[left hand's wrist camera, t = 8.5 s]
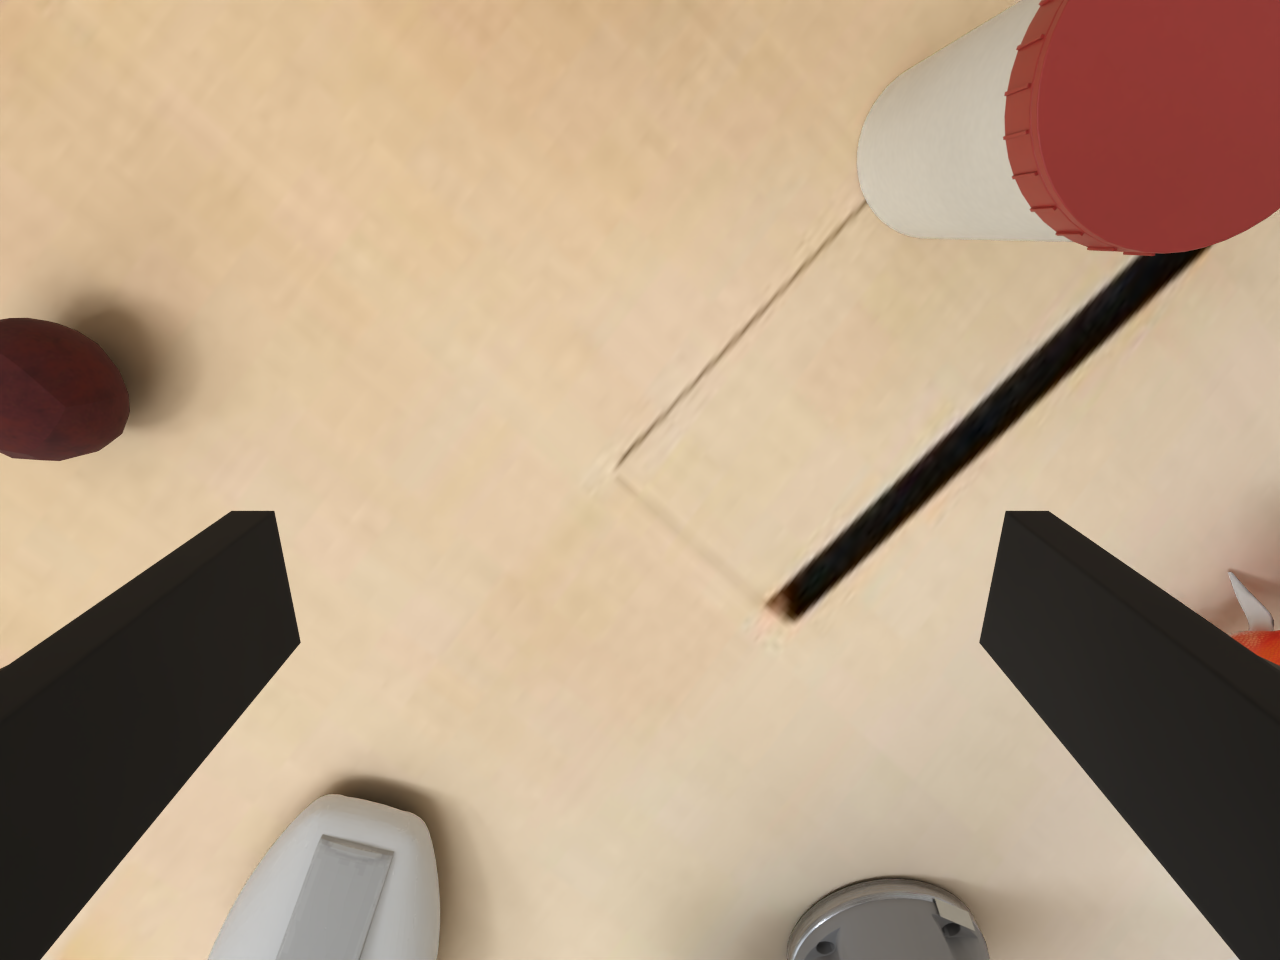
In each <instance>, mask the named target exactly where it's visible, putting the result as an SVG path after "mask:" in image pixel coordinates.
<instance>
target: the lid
mask: <svg viewBox="0 0 1280 960" xmlns="http://www.w3.org/2000/svg"><path fill="white" fill-rule="evenodd" d="M1039 5H1040V7H1039V9H1038V11H1037V13H1036V14H1035V16H1034V18H1033V20H1032V21H1031V23H1030V25H1029V27H1028V29H1027V31H1026V33H1025V36H1024V38H1023V40H1022V42H1021V44H1020V45H1018V46H1017V48H1016V50H1018V52H1017V55H1016V58H1015V62H1014V65H1013V68H1012V71H1011V75H1010V80H1009V85H1008V89H1007V91H1006V92H1005V94H1004V96H1006V105H1005V116H1004V118H1005V136H1003V140H1005V141H1006V147H1007V153H1008V159H1009V162H1010V166H1011V169H1012V172H1013V176H1012V179H1015V180H1016V182H1017V185H1018V187H1019V189H1020V191H1021V193H1022V195H1023V196H1024V198H1025V199H1026V201H1027V202H1028V204H1029V205H1030V207H1031V209H1029V210H1030V211H1031V212H1035V213H1036V214H1037V215H1038V216H1039V217H1040V218H1041V220H1042V221H1043V222H1044V223H1046V224H1047V225H1048V226H1049V227H1051V228H1052V229H1053V230H1054V231H1056V234H1055V235H1057V236H1064V237H1066V238H1068V239H1069V240H1071V241H1073V242H1076V243H1079V244H1081V245H1084V246H1087V247H1088V248H1087V250H1096V251H1119V252H1123V255H1145V256H1155V253H1174V252H1185V251H1190V250H1194V249H1199V248H1204V247H1207V246H1210V245H1213V244H1216V243H1219V242H1222V241H1225V240H1227V239H1229V238H1231V237H1233V236H1236V235H1238V234H1240V233H1242V232H1244V231H1246V230H1248V229H1250V228H1251V227H1253V226H1255V225H1256V224H1258V223H1259V222H1261V221H1263V220H1264V219H1266V218H1268V217H1269V216H1270V215H1272V214H1273V213H1274V212H1276V211H1277V210H1278V209H1280V0H1041V1H1040V3H1039Z"/></svg>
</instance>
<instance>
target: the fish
mask: <svg viewBox="0 0 1280 960" xmlns="http://www.w3.org/2000/svg"><path fill="white" fill-rule="evenodd" d="M1228 575H1229V577H1230V580H1231V583H1232V586H1233V589H1234V592H1235V594H1236V597H1237V599H1238V601H1239V603H1240V605H1241V607H1242V609H1243V611H1244V613H1245V615H1246V617H1247V619H1248V623H1249V631H1243V632H1237V633H1232V634H1229V636H1230V637H1232V638H1233V639H1235V640H1236V641H1237V642H1239V643H1240V644H1242V645H1243V646H1245V647H1246V648H1248V649H1249V650H1251V651H1252V652H1253V653H1255V654H1256V655H1258V656H1260V657H1262V658H1264V659H1266V660H1269V661H1271V662H1273V663H1275V664H1277V665H1279V666H1280V630H1278V631H1273V628H1274V620H1273V618H1272V616H1271V614H1270V613H1269V611H1268V610H1267V609H1266V608H1265V607H1264V606H1263V605H1262V604H1261V603H1260V602H1259V601H1258V600H1257V599H1256V598H1255V597H1254V596H1253V595H1252V594H1251V593H1250V592H1249V591H1248V590H1247V589H1246V587H1245V586H1244V585H1243V584H1242V583H1241V582H1240V581H1239V580H1238V579H1237V577H1236V576H1235V575H1234V574H1233V573H1232V572H1228Z"/></svg>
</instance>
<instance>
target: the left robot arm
mask: <svg viewBox="0 0 1280 960" xmlns="http://www.w3.org/2000/svg"><path fill="white" fill-rule="evenodd" d="M300 643H301V642H300V637H299V632H298V627H297V622H296V617H295V612H294V607H293V602H292V597H291V592H290V587H289V582H288V577H287V572H286V567H285V562H284V557H283V552H282V547H281V542H280V537H279V532H278V527H277V522H276V517H275V512H274V511H231V512H229V513H228V514H226V515H225V516H224V517H222V518H221V519H219V520H218V521H216V522H215V523H213V524H212V525H211V526H209V527H208V528H206V529H205V530H203V531H202V532H200V533H199V534H198V535H196V536H195V537H193V538H192V539H190V540H189V541H187V542H186V543H184V544H183V545H182V546H180V547H179V548H177V549H176V550H174V551H173V552H171V553H170V554H169V555H167V556H166V557H164V558H163V559H161V560H160V561H158V562H157V563H156V564H154V565H153V566H151V567H150V568H148V569H147V570H145V571H144V572H142V573H141V574H140V575H138V576H137V577H135V578H134V579H132V580H131V581H129V582H128V583H127V584H125V585H124V586H122V587H121V588H119V589H118V590H116V591H115V592H113V593H112V594H111V595H109V596H108V597H106V598H105V599H103V600H102V601H100V602H99V603H98V604H96V605H95V606H93V607H92V608H90V609H89V610H87V611H86V612H85V613H83V614H82V615H80V616H79V617H77V618H76V619H74V620H73V621H71V622H70V623H69V624H67V625H66V626H64V627H63V628H61V629H60V630H58V631H57V632H56V633H54V634H53V635H51V636H50V637H48V638H47V639H45V640H44V641H43V642H41V643H40V644H38V645H37V646H35V647H34V648H32V649H31V650H29V651H28V652H27V653H25V654H24V655H22V656H21V657H19V658H18V659H16V660H15V661H14V662H12V663H11V664H9V665H7V666H5V667H3V668H1V669H0V960H40V959H41V958H42V957H43V956H44V955H45V953H46V952H47V951H48V950H49V949H50V947H51V946H52V945H53V944H54V942H55V941H56V940H57V939H58V938H59V936H60V935H61V934H62V933H63V931H64V930H65V929H66V928H67V927H68V925H69V924H70V923H71V922H72V921H73V919H74V918H75V917H76V916H77V914H78V913H79V912H80V911H81V910H82V908H83V907H84V906H85V905H86V903H87V902H88V901H89V900H90V899H91V897H92V896H93V895H94V894H95V892H96V891H97V890H98V889H99V888H100V886H101V885H102V884H103V883H104V882H105V880H106V879H107V878H108V877H109V875H110V874H111V873H112V872H113V871H114V869H115V868H116V867H117V866H118V864H119V863H120V862H121V861H122V860H123V858H124V857H125V856H126V855H127V853H128V852H129V851H130V850H131V849H132V847H133V846H134V845H135V844H136V843H137V841H138V840H139V839H140V838H141V836H142V835H143V834H144V833H145V832H146V830H147V829H148V828H149V827H150V825H151V824H152V823H153V822H154V821H155V819H156V818H157V817H158V816H159V815H160V813H161V812H162V811H163V810H164V808H165V807H166V806H167V805H168V804H169V802H170V801H171V800H172V799H173V797H174V796H175V795H176V794H177V793H178V791H179V790H180V789H181V788H182V786H183V785H184V784H185V783H186V782H187V780H188V779H189V778H190V777H191V776H192V774H193V773H194V772H195V771H196V769H197V768H198V767H199V766H200V765H201V763H202V762H203V761H204V760H205V758H206V757H207V756H208V755H209V754H210V752H211V751H212V750H213V749H214V747H215V746H216V745H217V744H218V743H219V741H220V740H221V739H222V738H223V737H224V735H225V734H226V733H227V732H228V730H229V729H230V728H231V727H232V726H233V724H234V723H235V722H236V721H237V719H238V718H239V717H240V716H241V715H242V713H243V712H244V711H245V710H246V709H247V707H248V706H249V705H250V704H251V702H252V701H253V700H254V699H255V698H256V696H257V695H258V694H259V693H260V691H261V690H262V689H263V688H264V687H265V685H266V684H267V683H268V682H269V680H270V679H271V678H272V677H273V676H274V674H275V673H276V672H277V671H278V670H279V668H280V667H281V666H282V665H283V663H284V662H285V661H286V660H287V659H288V657H289V656H290V655H291V654H292V652H293V651H294V650H295V649H296V648H297V646H298V645H299V644H300ZM979 643H980V644H981V645H982V646H983V648H984V649H985V650H986V651H987V652H988V654H989V655H990V656H991V657H992V659H993V660H994V661H995V662H996V663H997V665H998V666H999V667H1000V668H1001V670H1002V671H1003V672H1004V673H1005V674H1006V676H1007V677H1008V678H1009V679H1010V680H1011V682H1012V683H1013V684H1014V685H1015V687H1016V688H1017V689H1018V690H1019V691H1020V693H1021V694H1022V695H1023V696H1024V698H1025V699H1026V700H1027V701H1028V702H1029V704H1030V705H1031V706H1032V707H1033V709H1034V710H1035V711H1036V712H1037V713H1038V715H1039V716H1040V717H1041V718H1042V719H1043V721H1044V722H1045V723H1046V724H1047V726H1048V727H1049V728H1050V729H1051V730H1052V732H1053V733H1054V734H1055V735H1056V737H1057V738H1058V739H1059V740H1060V741H1061V743H1062V744H1063V745H1064V746H1065V747H1066V749H1067V750H1068V751H1069V752H1070V754H1071V755H1072V756H1073V757H1074V758H1075V760H1076V761H1077V762H1078V763H1079V765H1080V766H1081V767H1082V768H1083V769H1084V771H1085V772H1086V773H1087V774H1088V776H1089V777H1090V778H1091V779H1092V780H1093V782H1094V783H1095V784H1096V785H1097V786H1098V788H1099V789H1100V790H1101V791H1102V793H1103V794H1104V795H1105V796H1106V797H1107V799H1108V800H1109V801H1110V802H1111V804H1112V805H1113V806H1114V807H1115V808H1116V810H1117V811H1118V812H1119V813H1120V815H1121V816H1122V817H1123V818H1124V819H1125V821H1126V822H1127V823H1128V824H1129V825H1130V827H1131V828H1132V829H1133V830H1134V832H1135V833H1136V834H1137V835H1138V836H1139V838H1140V839H1141V840H1142V841H1143V843H1144V844H1145V845H1146V846H1147V847H1148V849H1149V850H1150V851H1151V852H1152V854H1153V855H1154V856H1155V857H1156V858H1157V860H1158V861H1159V862H1160V863H1161V864H1162V866H1163V867H1164V868H1165V869H1166V871H1167V872H1168V873H1169V874H1170V875H1171V877H1172V878H1173V879H1174V880H1175V882H1176V883H1177V884H1178V885H1179V886H1180V888H1181V889H1182V890H1183V891H1184V892H1185V894H1186V895H1187V896H1188V897H1189V899H1190V900H1191V901H1192V902H1193V903H1194V905H1195V906H1196V907H1197V908H1198V910H1199V911H1200V912H1201V913H1202V914H1203V916H1204V917H1205V918H1206V919H1207V921H1208V922H1209V923H1210V924H1211V925H1212V927H1213V928H1214V929H1215V930H1216V931H1217V933H1218V934H1219V935H1220V936H1221V938H1222V939H1223V940H1224V941H1225V942H1226V944H1227V945H1228V946H1229V947H1230V949H1231V950H1232V951H1233V952H1234V953H1235V955H1236V956H1237V957H1238V958H1239V959H1240V960H1280V666H1279V665H1277V664H1275V663H1273V662H1271V661H1269V660H1266V659H1264V658H1262V657H1260V656H1258V655H1256V654H1255V653H1253V652H1252V651H1251V650H1249V649H1248V648H1246V647H1245V646H1243V645H1242V644H1240V643H1239V642H1237V641H1236V640H1235V639H1233V638H1232V637H1230V636H1229V635H1227V634H1226V633H1224V632H1223V631H1222V630H1220V629H1219V628H1217V627H1216V626H1214V625H1213V624H1211V623H1210V622H1209V621H1207V620H1206V619H1204V618H1203V617H1201V616H1200V615H1198V614H1197V613H1195V612H1194V611H1193V610H1191V609H1190V608H1188V607H1187V606H1185V605H1184V604H1182V603H1181V602H1180V601H1178V600H1177V599H1175V598H1174V597H1172V596H1171V595H1169V594H1168V593H1167V592H1165V591H1164V590H1162V589H1161V588H1159V587H1158V586H1156V585H1155V584H1153V583H1152V582H1151V581H1149V580H1148V579H1146V578H1145V577H1143V576H1142V575H1140V574H1139V573H1138V572H1136V571H1135V570H1133V569H1132V568H1130V567H1129V566H1127V565H1126V564H1124V563H1123V562H1122V561H1120V560H1119V559H1117V558H1116V557H1114V556H1113V555H1111V554H1110V553H1109V552H1107V551H1106V550H1104V549H1103V548H1101V547H1100V546H1098V545H1097V544H1096V543H1094V542H1093V541H1091V540H1090V539H1088V538H1087V537H1085V536H1084V535H1082V534H1081V533H1080V532H1078V531H1077V530H1075V529H1074V528H1072V527H1071V526H1069V525H1068V524H1067V523H1065V522H1064V521H1062V520H1061V519H1059V518H1058V517H1056V516H1055V515H1054V514H1052V513H1051V512H1049V511H1006V512H1005V517H1004V522H1003V527H1002V532H1001V537H1000V542H999V547H998V552H997V557H996V562H995V567H994V572H993V577H992V582H991V587H990V592H989V597H988V602H987V607H986V612H985V617H984V622H983V627H982V632H981V637H980V642H979ZM787 960H990V959H989V954H988V949H987V945H986V942H985V940H984V937H983V935H982V933H981V931H980V929H979V927H978V925H977V923H976V921H975V919H974V917H973V915H972V913H971V912H970V910H969V909H968V908H967V906H966V905H965V904H964V903H963V902H962V901H961V900H960V899H958V898H957V897H956V896H954V895H953V894H951V893H949V892H948V891H946V890H944V889H942V888H940V887H937V886H934V885H932V884H928V883H925V882H921V881H915V880H908V879H880V880H872V881H867V882H862V883H858V884H855V885H852V886H849V887H846V888H843V889H841V890H839V891H836V892H834V893H832V894H830V895H828V896H827V897H825V898H824V899H822V900H820V901H819V902H818V903H816V904H815V905H814V906H812V907H811V908H810V909H809V910H808V911H807V912H806V913H805V914H804V915H803V916H802V917H801V919H800V920H799V921H798V923H797V924H796V926H795V927H794V929H793V931H792V933H791V936H790V939H789V942H788V947H787Z"/></svg>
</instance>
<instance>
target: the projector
mask: <svg viewBox="0 0 1280 960" xmlns="http://www.w3.org/2000/svg"><path fill="white" fill-rule="evenodd" d="M439 934H440V894H439V883H438V873H437V866H436V859H435V854H434V849H433V844H432V840H431V837H430V833H429V830H428V828H427V826H426V824H425V822H424V821H423V820H422V819H421V818H420V817H418V816H417V815H415V814H413V813H411V812H406V811H402V810H399V809H396V808H393V807H390V806H387V805H384V804H380V803H376V802H372V801H368V800H363V799H359V798H353V797H347V796H343V795H340V794H328V795H324V796H321V797H320V798H318V799H316V800H315V801H314V802H312V803H311V804H310V805H309V806H307V807H306V808H305V809H304V810H303V811H302V812H301V813H300V814H299V815H298V816H297V817H296V818H295V819H294V820H293V821H292V822H291V823H290V825H289V826H288V827H287V828H286V829H285V831H284V832H283V833H282V834H281V835H280V836H279V838H278V839H277V840H276V841H275V843H274V844H273V845H272V846H271V848H270V849H269V850H268V852H267V853H266V854H265V856H264V857H263V858H262V860H261V861H260V863H259V864H258V865H257V867H256V868H255V870H254V871H253V873H252V874H251V876H250V877H249V879H248V880H247V882H246V884H245V885H244V887H243V889H242V890H241V892H240V894H239V895H238V897H237V899H236V901H235V903H234V904H233V906H232V908H231V910H230V912H229V914H228V916H227V918H226V920H225V922H224V924H223V926H222V928H221V930H220V932H219V934H218V936H217V939H216V941H215V943H214V945H213V948H212V950H211V952H210V955H209V957H208V960H437V955H438V947H439Z"/></svg>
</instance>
